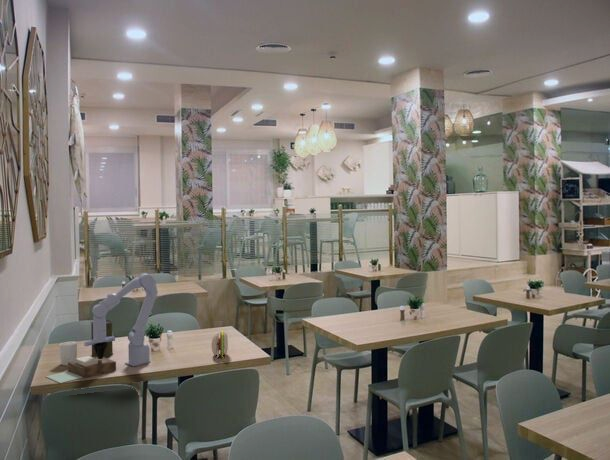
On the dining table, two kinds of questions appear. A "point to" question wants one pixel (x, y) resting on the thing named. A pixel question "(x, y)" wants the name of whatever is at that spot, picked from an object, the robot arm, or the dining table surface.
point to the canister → (109, 348)
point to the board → (92, 367)
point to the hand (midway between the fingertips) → (100, 358)
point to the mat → (64, 377)
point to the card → (86, 361)
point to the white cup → (68, 352)
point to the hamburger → (219, 344)
